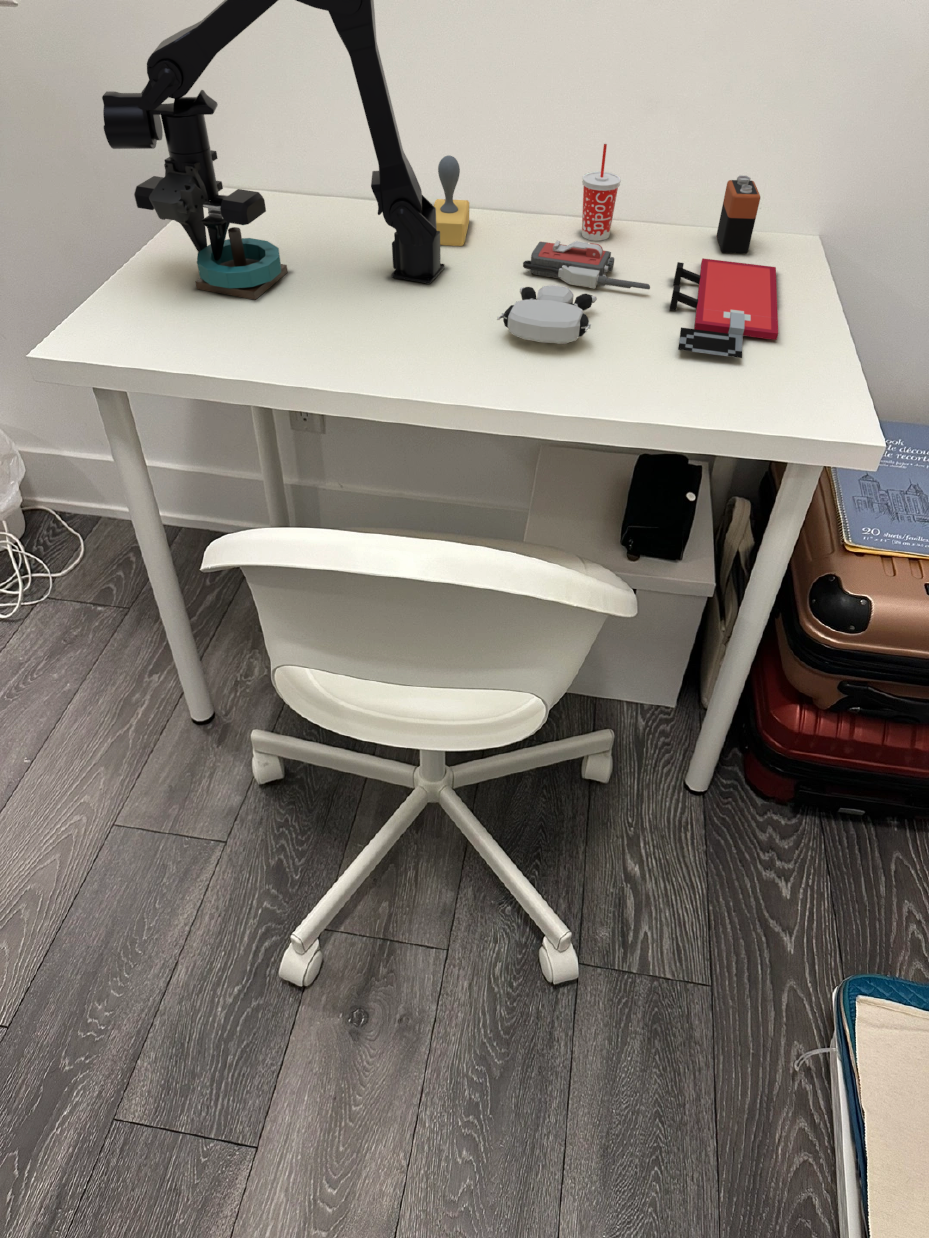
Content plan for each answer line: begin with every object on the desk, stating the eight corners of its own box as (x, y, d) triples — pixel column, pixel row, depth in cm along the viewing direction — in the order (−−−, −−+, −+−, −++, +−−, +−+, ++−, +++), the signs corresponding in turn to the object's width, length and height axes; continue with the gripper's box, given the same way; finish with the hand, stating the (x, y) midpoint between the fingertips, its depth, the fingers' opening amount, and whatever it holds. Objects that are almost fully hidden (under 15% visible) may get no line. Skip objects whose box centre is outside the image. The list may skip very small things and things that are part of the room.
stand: (287, 272, 138) (280, 221, 133) (255, 300, 132) (246, 248, 126) (231, 262, 141) (222, 212, 135) (196, 289, 134) (185, 237, 129)
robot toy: (516, 306, 132) (494, 347, 121) (518, 275, 129) (495, 314, 118) (598, 316, 130) (583, 359, 119) (602, 285, 127) (587, 326, 116)
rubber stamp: (435, 220, 153) (434, 145, 144) (469, 222, 152) (470, 146, 144) (428, 244, 146) (427, 166, 137) (464, 246, 145) (464, 168, 137)
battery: (741, 237, 148) (756, 174, 141) (748, 255, 144) (763, 190, 136) (715, 236, 149) (728, 173, 141) (720, 254, 144) (734, 189, 137)
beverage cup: (574, 240, 147) (583, 149, 137) (579, 226, 151) (588, 136, 141) (611, 244, 146) (623, 152, 136) (615, 229, 150) (626, 139, 140)
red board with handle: (662, 354, 120) (776, 369, 118) (666, 334, 118) (782, 350, 116) (676, 264, 141) (773, 276, 139) (679, 246, 139) (778, 258, 137)
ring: (295, 260, 137) (293, 245, 136) (255, 293, 130) (253, 277, 128) (227, 249, 140) (224, 233, 139) (184, 280, 132) (181, 264, 131)
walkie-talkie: (517, 279, 137) (647, 299, 132) (519, 251, 134) (651, 270, 129) (533, 256, 143) (657, 275, 138) (535, 228, 140) (662, 246, 135)
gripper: (97, 158, 121) (127, 270, 132) (216, 176, 117) (237, 291, 128) (145, 133, 129) (169, 241, 140) (259, 149, 124) (275, 260, 135)
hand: (211, 258), depth 135 cm, fingers closed on ring, 2 cm apart
